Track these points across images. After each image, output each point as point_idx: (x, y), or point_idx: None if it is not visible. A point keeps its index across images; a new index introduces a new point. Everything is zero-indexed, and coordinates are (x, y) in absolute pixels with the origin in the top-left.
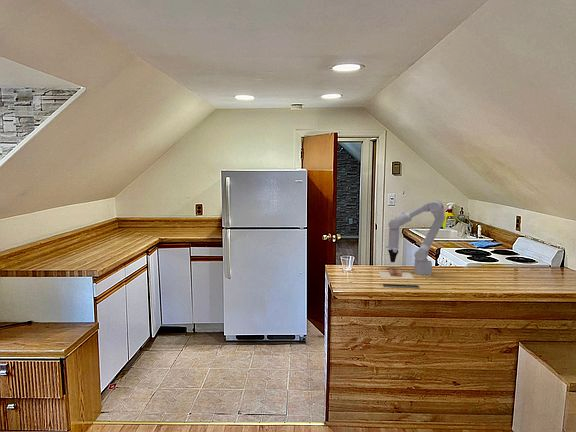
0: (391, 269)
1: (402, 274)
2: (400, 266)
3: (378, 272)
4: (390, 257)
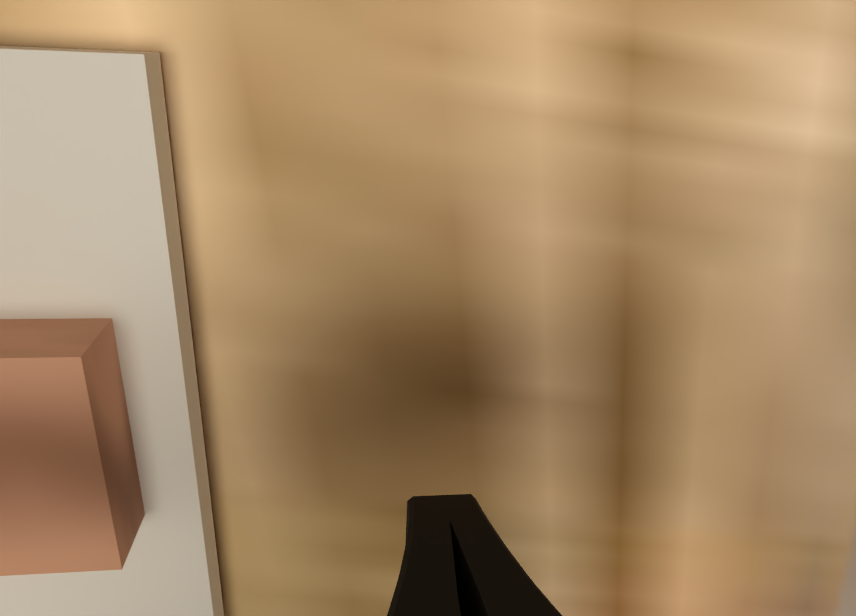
0: (75, 408)
1: None
2: (810, 547)
3: (47, 50)
4: (393, 597)
